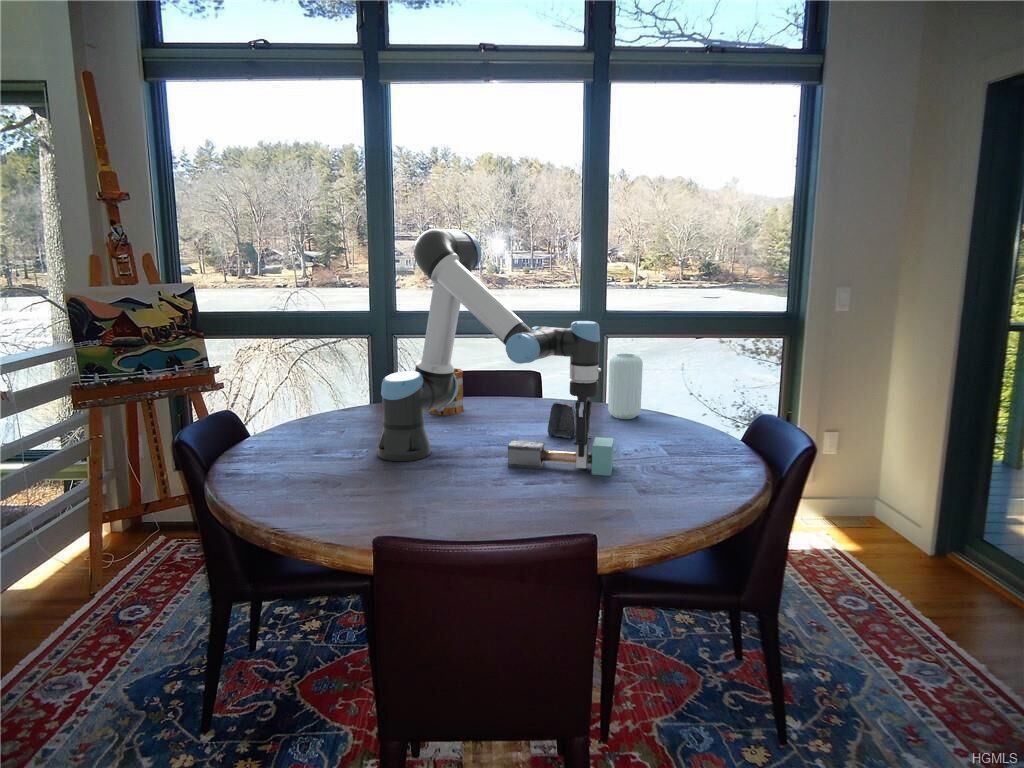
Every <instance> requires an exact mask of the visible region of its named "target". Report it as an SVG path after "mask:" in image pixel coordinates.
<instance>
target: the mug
mask: <svg viewBox="0 0 1024 768" xmlns="http://www.w3.org/2000/svg"><path fill="white" fill-rule="evenodd" d="M454 374H455V376H456V380H457V381H458V392H457V395H456V397H455V398H454V400H453V401H452V402H451V403H449V404H447V405H446V406H444V407H442V408H438V409H434V410H431V411H428V412H429V414H432V415H439V416H448V415H449V416H451V415H458V414H461V413H463V412H464V411H465V410H464V409H465V408H464V385H463V383H464V382H463V379H464V378H463V376H464V371H463V370H462V369H461V368H457V367H456V368H455V367H454Z"/></svg>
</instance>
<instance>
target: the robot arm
mask: <svg viewBox="0 0 1024 768" xmlns="http://www.w3.org/2000/svg"><path fill="white" fill-rule="evenodd" d="M413 255H414V260H415V262H416V265H417V266H418V267H419V269H420V270H421V271H422V272H423V274H424V275H425V276H426V277H427V278H428V279H430V281H432V282H433V285H432V291H431V299H430V305H429V313H428V318H427V324H426V331H425V338H424V343H423V351H422V357H421V359H419V360H418V361H417V362H416V363H415V369H414V370H404V371H400V372H399V371H398V372H393V373H390V374H389V375H387V376H385V377H384V378H383V379H382V382H381V390H380V395H381V408H382V411H381V412H382V432H381V435H380V439H379V442H378V446H377V456H378V458H380V459H381V460H382V459H383V460H386V461H392V462H411V461H416V460H417V461H418V460H421V459H424V458H426V457H428V456H429V455H431V452H432V450H431V443H430V441H429V437H428V435H427V432H426V429H425V421H424V420H425V419H424V415H425V414H424V413H427V412H429V411H431V410H434V409H438V408H442V407H444V406H446V405H447V404H449V403H451V402H452V401H453V400H454V398H455V397H456V395H457V392H458V381H457V380H456V376H455V374H454V368H455V367H454V366H453V364H452V363H451V361H452V355H453V350H454V346H455V345H454V343H455V339H456V332H457V326H458V320H459V316H460V315H459V314H460V309H461V305H462V306H463V307H464V308H466V309H467V310H468V311H469V312H470V313H471V314H472V315H473V316H474V317H475V318H476V319H477V320H478V321H479V322H480V323H481V324H482V325H484V327H485V328H486V329H488V330H489V331H490V332H491V333H492V334H493V335H494V336H495V337H496V338H497V339H498V340H499V341H500V342H501V343H503V345H504V346H505V352H506V355H507V357H508V358H509V360H510V361H511V362H513V363H515V364H521V365H522V364H530V363H532V362H535V361H538V360H540V359H545V358H548V357H551V356H554V357H555V356H557V357H569V358H570V359H569V379H570V381H569V394H570V395H571V396H573V397H577V400H576V402H575V404H574V408H575V413H576V434H575V441H574V442H573V445H575V452H576V463H575V468H576V469H577V468H578V469H587V466H586V464H587V442H586V437H587V430H588V431H589V440H592V436H590V434H591V433H590V424H591V421H590V420H591V417H590V416H591V410H592V409H591V408H592V404H593V403H592V400H591V399H590V398H593V397H597V396H598V394H599V381H598V380H599V373H601V371H602V368H600V367H599V365H600V347H601V346H600V344H601V338H600V337H601V336H600V332H601V331H600V324H599V323H598V322H596V321H591V320H575V321H573V322H571V324H570V327H569V328H567V327H565V328H564V327H555V326H554V327H553V326H552V327H551V326H545V325H542V326H533V327H529V326H528V325H527V324H526V323H525V322H524V321H523V320H522V319H521V318H520V317H519V316H517V315H516V313H514V312H513V311H512V309H510V308H509V307H508V306H507V305H506V304H505V303H504V302H503V301H501V300H500V298H498V297H497V296H496V295H495V294H494V293H493V292H492V291H491V290H490V289H488V287H486V285H484V284H483V283H482V281H480V280H479V279H478V278H477V277H476V276H475V275H474V274H473V273H472V271H473V270H475V269H476V268H477V267H478V266H479V264H480V262H481V261H482V260H481V259H482V247H481V244H480V243H479V241H478V239H477V237H475V235H473V233H471V232H470V231H466V230H462V229H456V228H455V229H453V228H452V229H450V228H449V229H448V228H447V229H446V228H445V229H444V228H431V229H428V230H426V231H423V232H422V233H421V234H420V235H419V236H418V238H417V239H416V241H415V242H414V247H413ZM576 445H577V447H576Z"/></svg>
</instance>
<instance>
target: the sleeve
mask: <svg viewBox="0 0 1024 768" xmlns="http://www.w3.org/2000/svg"><path fill="white" fill-rule="evenodd" d="M541 450H545V441H537V440H536V441H535V440H520V439H512V440H511V441H510V443H509V444H508V445H507V468H516V469H517V468H519V469H529V470H530V469H531V470H532V469H533V470H541V469H542V467H543V465H544V463H545V461H541Z"/></svg>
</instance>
